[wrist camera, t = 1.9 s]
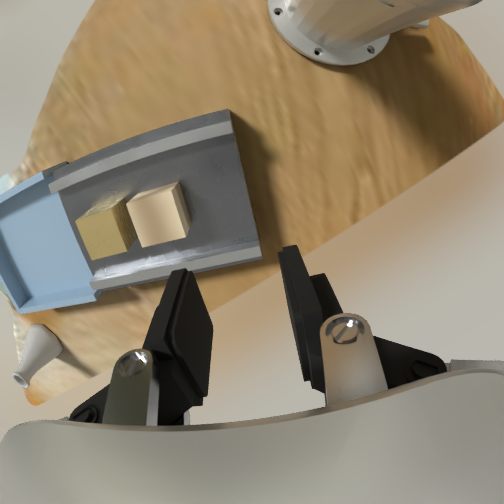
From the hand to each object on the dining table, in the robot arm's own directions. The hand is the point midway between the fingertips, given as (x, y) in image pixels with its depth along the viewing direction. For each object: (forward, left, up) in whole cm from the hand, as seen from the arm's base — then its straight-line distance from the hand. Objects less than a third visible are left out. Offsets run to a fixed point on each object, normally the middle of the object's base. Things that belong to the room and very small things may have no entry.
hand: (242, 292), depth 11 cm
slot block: (+9, 0, -19) cm, 21 cm away
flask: (+38, +16, -20) cm, 45 cm away
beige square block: (+7, 0, -15) cm, 17 cm away
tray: (+26, 0, -19) cm, 32 cm away
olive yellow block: (+13, 0, -15) cm, 20 cm away
